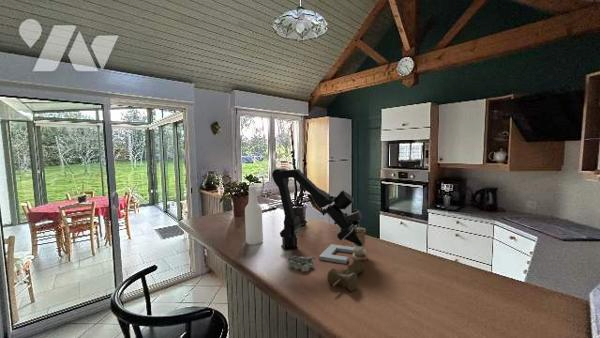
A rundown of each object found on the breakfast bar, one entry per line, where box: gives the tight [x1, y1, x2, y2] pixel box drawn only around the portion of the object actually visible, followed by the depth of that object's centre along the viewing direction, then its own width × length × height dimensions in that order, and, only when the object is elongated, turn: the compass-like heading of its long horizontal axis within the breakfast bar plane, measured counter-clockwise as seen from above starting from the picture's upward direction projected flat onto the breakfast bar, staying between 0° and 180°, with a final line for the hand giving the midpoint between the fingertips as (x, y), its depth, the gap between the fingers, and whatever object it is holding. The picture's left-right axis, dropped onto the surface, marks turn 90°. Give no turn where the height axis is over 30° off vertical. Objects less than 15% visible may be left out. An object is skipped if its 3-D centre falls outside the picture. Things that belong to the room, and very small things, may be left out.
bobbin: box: [351, 226, 368, 262], centre depth 117 cm, size 6×6×13 cm
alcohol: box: [244, 185, 264, 246], centre depth 141 cm, size 9×9×30 cm
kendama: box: [326, 260, 365, 292], centre depth 97 cm, size 6×10×20 cm
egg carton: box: [286, 254, 315, 272], centre depth 111 cm, size 11×8×4 cm
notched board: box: [318, 243, 354, 265], centre depth 122 cm, size 12×16×2 cm
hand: (362, 243), depth 117 cm, fingers closed on bobbin, 5 cm apart
